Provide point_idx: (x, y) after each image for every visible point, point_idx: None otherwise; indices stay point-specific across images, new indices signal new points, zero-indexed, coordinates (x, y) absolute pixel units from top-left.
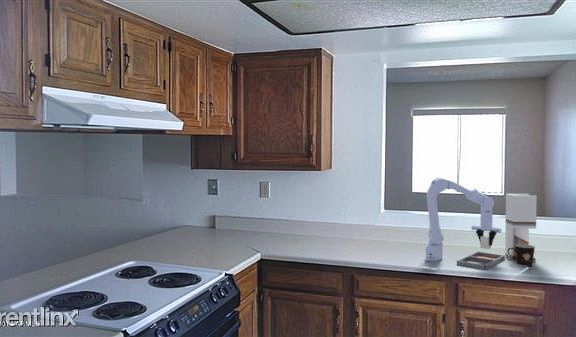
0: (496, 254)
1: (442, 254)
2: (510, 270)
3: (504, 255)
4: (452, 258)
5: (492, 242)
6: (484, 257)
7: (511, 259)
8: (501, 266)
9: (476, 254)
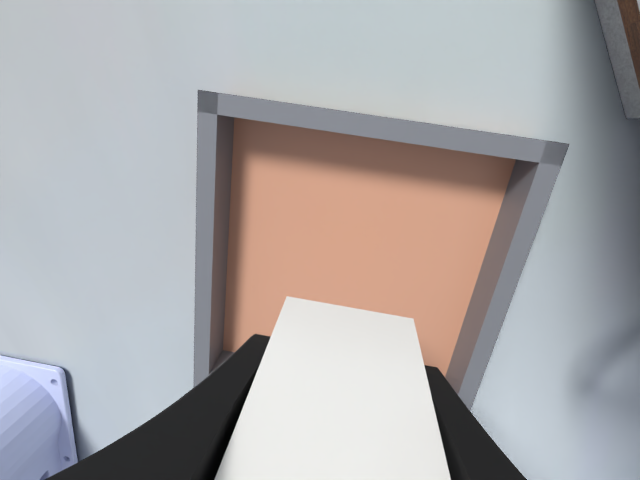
0: (457, 144)
1: (21, 443)
2: (568, 453)
3: (567, 145)
4: (78, 298)
5: (460, 403)
6: (316, 181)
7: (632, 83)
8: (498, 371)
9: (222, 182)
